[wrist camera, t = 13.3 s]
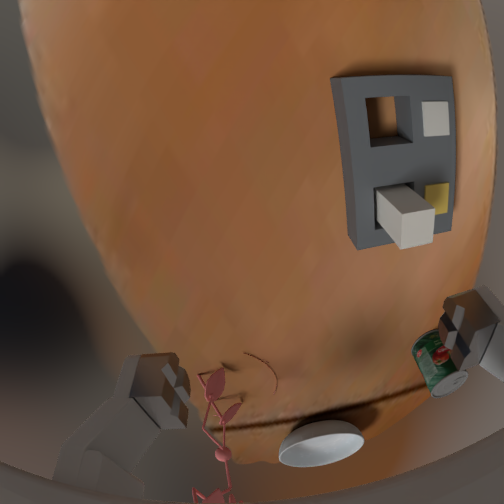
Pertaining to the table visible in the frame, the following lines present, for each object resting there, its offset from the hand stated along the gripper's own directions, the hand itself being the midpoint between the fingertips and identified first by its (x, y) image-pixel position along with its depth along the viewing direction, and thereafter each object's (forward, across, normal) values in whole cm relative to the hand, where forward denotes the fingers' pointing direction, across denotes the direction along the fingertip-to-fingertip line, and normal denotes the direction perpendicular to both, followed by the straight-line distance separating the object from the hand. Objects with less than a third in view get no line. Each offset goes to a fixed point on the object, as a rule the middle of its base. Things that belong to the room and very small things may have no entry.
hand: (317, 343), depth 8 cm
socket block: (+29, -16, +4) cm, 33 cm away
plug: (+29, -14, +9) cm, 34 cm away
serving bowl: (+30, -2, +68) cm, 74 cm away
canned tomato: (+29, -26, +42) cm, 57 cm away
